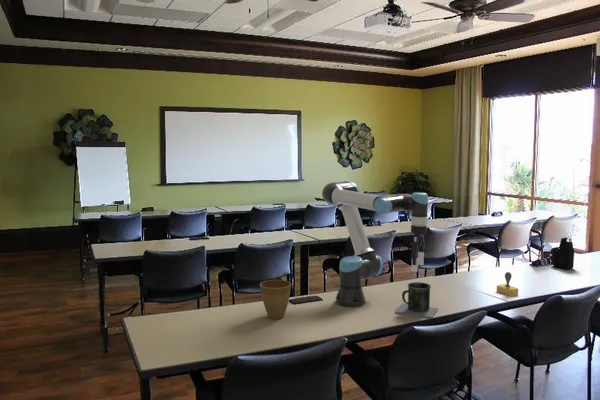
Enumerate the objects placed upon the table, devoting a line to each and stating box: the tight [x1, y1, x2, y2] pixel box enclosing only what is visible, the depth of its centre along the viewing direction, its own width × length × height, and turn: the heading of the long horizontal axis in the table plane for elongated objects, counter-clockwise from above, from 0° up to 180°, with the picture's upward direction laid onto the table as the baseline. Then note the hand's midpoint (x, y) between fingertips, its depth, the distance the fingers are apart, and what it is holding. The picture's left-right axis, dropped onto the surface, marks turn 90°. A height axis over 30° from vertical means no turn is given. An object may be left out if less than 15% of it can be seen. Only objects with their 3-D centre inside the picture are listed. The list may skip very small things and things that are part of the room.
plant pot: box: [259, 279, 292, 320], centre depth 239 cm, size 15×15×16 cm
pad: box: [394, 302, 439, 320], centre depth 247 cm, size 18×14×1 cm
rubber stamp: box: [496, 271, 519, 297], centre depth 276 cm, size 10×6×12 cm, turn 28°
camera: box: [549, 237, 575, 271], centre depth 332 cm, size 10×14×20 cm
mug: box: [401, 281, 432, 312], centre depth 247 cm, size 11×15×12 cm
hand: (417, 268), depth 244 cm, fingers open, 13 cm apart
